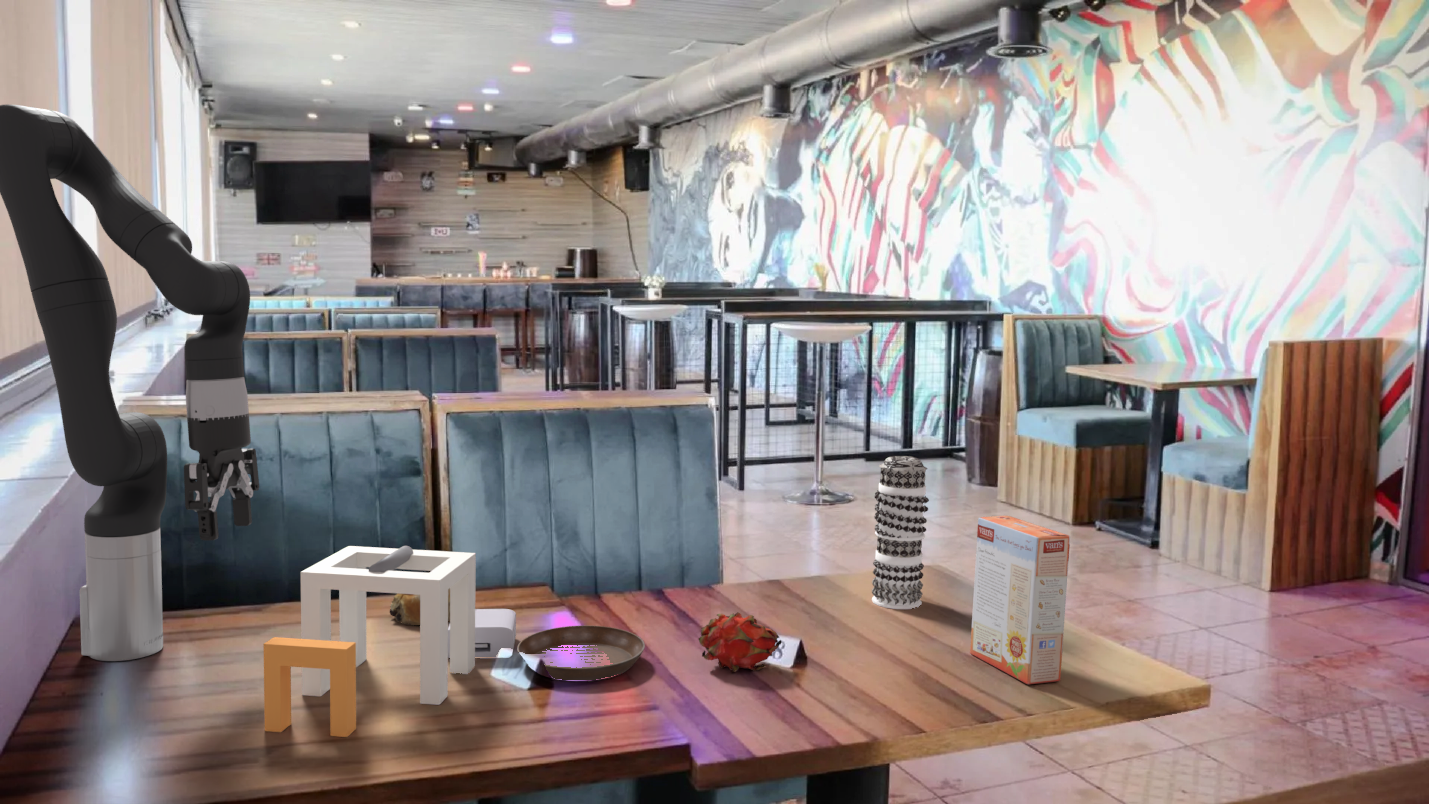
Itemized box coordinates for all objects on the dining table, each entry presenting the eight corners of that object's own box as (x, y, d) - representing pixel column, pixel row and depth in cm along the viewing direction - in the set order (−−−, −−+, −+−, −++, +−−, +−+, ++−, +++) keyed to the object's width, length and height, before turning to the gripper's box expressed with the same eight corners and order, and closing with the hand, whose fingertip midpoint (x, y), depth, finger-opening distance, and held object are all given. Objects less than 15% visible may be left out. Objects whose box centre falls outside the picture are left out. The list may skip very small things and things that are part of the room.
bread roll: (437, 650, 170) (459, 605, 169) (376, 621, 169) (398, 575, 169) (453, 630, 180) (474, 587, 179) (396, 602, 179) (417, 559, 178)
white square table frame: (301, 695, 141) (300, 564, 139) (349, 658, 155) (348, 538, 153) (439, 704, 139) (439, 572, 137) (474, 666, 153) (475, 545, 151)
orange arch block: (264, 730, 130) (263, 643, 129) (275, 722, 132) (274, 636, 131) (346, 737, 129) (346, 649, 128) (356, 728, 131) (355, 642, 130)
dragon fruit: (689, 676, 156) (772, 687, 158) (702, 659, 149) (788, 670, 151) (694, 618, 161) (774, 629, 162) (706, 598, 153) (790, 610, 155)
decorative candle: (868, 607, 187) (875, 460, 184) (870, 592, 196) (876, 452, 193) (923, 611, 185) (931, 463, 182) (922, 596, 194) (930, 455, 192)
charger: (517, 626, 172) (512, 659, 157) (456, 627, 171) (445, 660, 156) (518, 596, 171) (512, 626, 156) (457, 597, 170) (445, 627, 155)
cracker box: (1063, 682, 154) (1073, 534, 152) (1027, 686, 152) (1036, 536, 149) (1002, 650, 167) (1010, 513, 165) (968, 653, 165) (976, 515, 162)
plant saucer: (519, 691, 145) (519, 669, 145) (515, 646, 162) (515, 626, 162) (653, 685, 149) (653, 663, 148) (635, 642, 166) (635, 622, 166)
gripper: (219, 406, 155) (228, 521, 156) (159, 419, 141) (169, 545, 142) (271, 406, 154) (279, 521, 156) (215, 418, 140) (225, 544, 142)
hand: (226, 532), depth 149 cm, fingers open, 8 cm apart
